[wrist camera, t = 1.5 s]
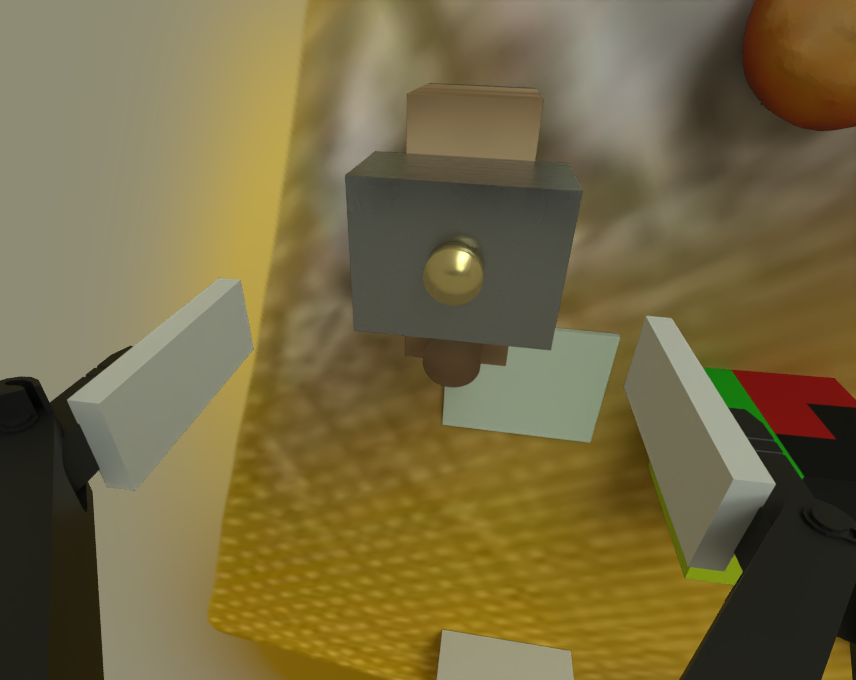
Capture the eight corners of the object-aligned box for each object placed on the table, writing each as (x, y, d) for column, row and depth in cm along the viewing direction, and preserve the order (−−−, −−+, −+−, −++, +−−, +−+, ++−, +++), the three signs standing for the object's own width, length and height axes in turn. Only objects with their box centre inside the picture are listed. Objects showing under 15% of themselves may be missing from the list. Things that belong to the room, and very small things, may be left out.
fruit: (723, 175, 26) (798, 107, 18) (704, 34, 26) (771, -92, 19) (899, 143, 24) (1066, 52, 17) (878, -9, 24) (1032, -169, 17)
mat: (619, 334, 34) (620, 336, 33) (589, 439, 39) (590, 442, 39) (449, 317, 35) (449, 320, 35) (443, 421, 40) (442, 424, 40)
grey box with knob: (568, 163, 22) (586, 198, 17) (544, 300, 26) (552, 363, 20) (375, 151, 23) (337, 181, 18) (378, 285, 26) (347, 341, 21)
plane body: (429, 83, 27) (393, 100, 19) (536, 88, 27) (548, 108, 18) (422, 302, 35) (394, 385, 26) (506, 310, 34) (505, 398, 26)
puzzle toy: (777, 478, 38) (853, 600, 30) (647, 464, 40) (684, 578, 31) (833, 377, 33) (944, 490, 25) (681, 365, 34) (737, 469, 26)
